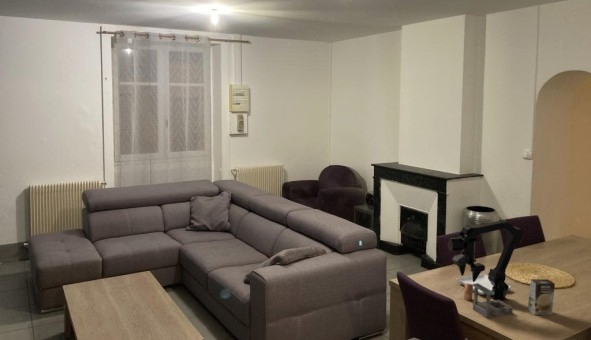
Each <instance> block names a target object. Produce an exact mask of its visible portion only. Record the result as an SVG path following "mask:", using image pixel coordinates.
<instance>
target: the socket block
mask: <svg viewBox="0 0 591 340" xmlns="http://www.w3.org/2000/svg"><path fill="white" fill-rule="evenodd" d="M473 286H474V287H475V289H474V291H473V303H472V310H473V311H475V312H476V313H478V314H479V315H481V316H482V317H484V318H485V319H488V318H494V317H499V316H507V315H512V314H513V312H514V311H513V309H514V308H513V307H512V306H511V305H509V304H507V303H505V302H503V301H500V300H495V299H493V300H491V297H490V296H491V295H494V292H493V291H491V290H489V289H487V288H485V287H484V286H482V285H480V284H478V283H477V284H473ZM478 289H479V290H481V291H482V292H484V293H486V294H485V295H486V299H485V300H486V301H483V302H478V297H479V295H478V294H479V293H478Z"/></svg>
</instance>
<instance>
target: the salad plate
mask: <svg viewBox="0 0 591 340" xmlns="http://www.w3.org/2000/svg"><path fill="white" fill-rule="evenodd" d="M455 280H456V281H457V282H459V283H460V284H461V285H462V286H465V284H467V283H469V284H472V285H473V284H477V283H478V284H480V285H482V286H484V287H485V288H487V289H489V290H491V291H492V287H493V285H492V284H491V282H490V281H489V280H488V274H486V273H480V274H479V276H478V277H477V279H476V281H475V282H473V279H472V275H468V276H461V277H456V278H455ZM507 285H508V284H507ZM508 286H509V288H508V290H511V288H512V286H511V285H508ZM474 289H475V287H474V286H473V292H474ZM478 294H479V295H487V294H486V293H484V292H482V291H481V290H479V289H478Z"/></svg>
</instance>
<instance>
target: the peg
mask: <svg viewBox="0 0 591 340" xmlns="http://www.w3.org/2000/svg"><path fill="white" fill-rule="evenodd" d="M473 294H474V291H473V285H472V284H469V283H467V284H465V285H464V294H463V300H464V301H467V302H471V301H472V300H473Z"/></svg>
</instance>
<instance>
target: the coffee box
mask: <svg viewBox="0 0 591 340" xmlns="http://www.w3.org/2000/svg"><path fill="white" fill-rule="evenodd" d="M529 285H530V286H529V293H528V295H529V296H528V303H527V305H528V306H527V310H528V311H529V312H530V313H531V314H533V316H540V315H541V316H552V315H553V308H554V307H553V306H554V297H555V285H556V284H555V283H554V282H553V281H552V280H550V279H547V278H546V279H543V278H541V279H534V278H531V279H530V283H529Z"/></svg>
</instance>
